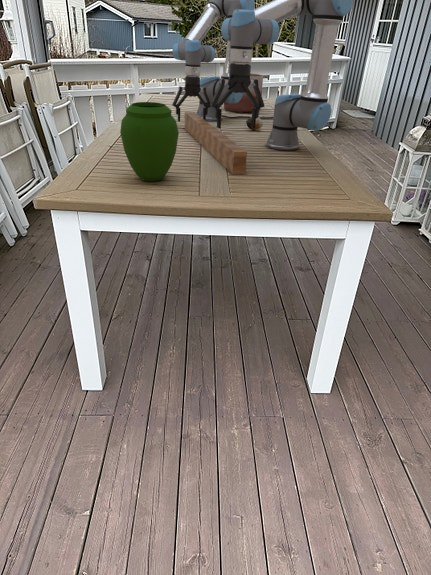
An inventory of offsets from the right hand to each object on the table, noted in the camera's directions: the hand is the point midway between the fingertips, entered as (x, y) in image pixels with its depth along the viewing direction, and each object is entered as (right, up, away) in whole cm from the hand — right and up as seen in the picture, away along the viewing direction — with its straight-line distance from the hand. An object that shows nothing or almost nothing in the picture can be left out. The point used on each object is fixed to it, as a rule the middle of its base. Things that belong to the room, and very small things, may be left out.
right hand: (236, 127), depth 153 cm
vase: (-31, -21, -7) cm, 38 cm away
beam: (-10, +5, +36) cm, 38 cm away
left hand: (-20, +27, +62) cm, 70 cm away
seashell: (+14, +27, +74) cm, 80 cm away
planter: (+11, +62, +129) cm, 144 cm away
